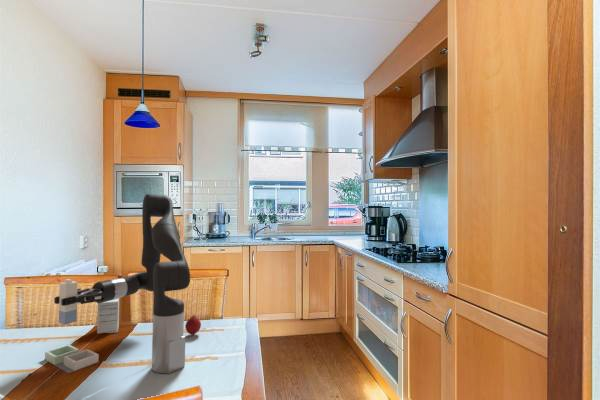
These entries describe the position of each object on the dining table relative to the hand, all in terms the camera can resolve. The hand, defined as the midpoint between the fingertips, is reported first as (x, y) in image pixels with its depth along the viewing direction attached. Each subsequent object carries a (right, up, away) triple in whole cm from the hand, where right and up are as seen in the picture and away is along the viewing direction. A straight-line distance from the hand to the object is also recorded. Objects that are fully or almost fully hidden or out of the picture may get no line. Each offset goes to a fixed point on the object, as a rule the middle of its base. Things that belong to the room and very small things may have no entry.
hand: (58, 301), depth 107 cm
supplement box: (0, -21, +28) cm, 35 cm away
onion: (+35, -21, +25) cm, 48 cm away
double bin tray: (+4, -20, 0) cm, 20 cm away
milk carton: (+1, -7, +2) cm, 8 cm away
